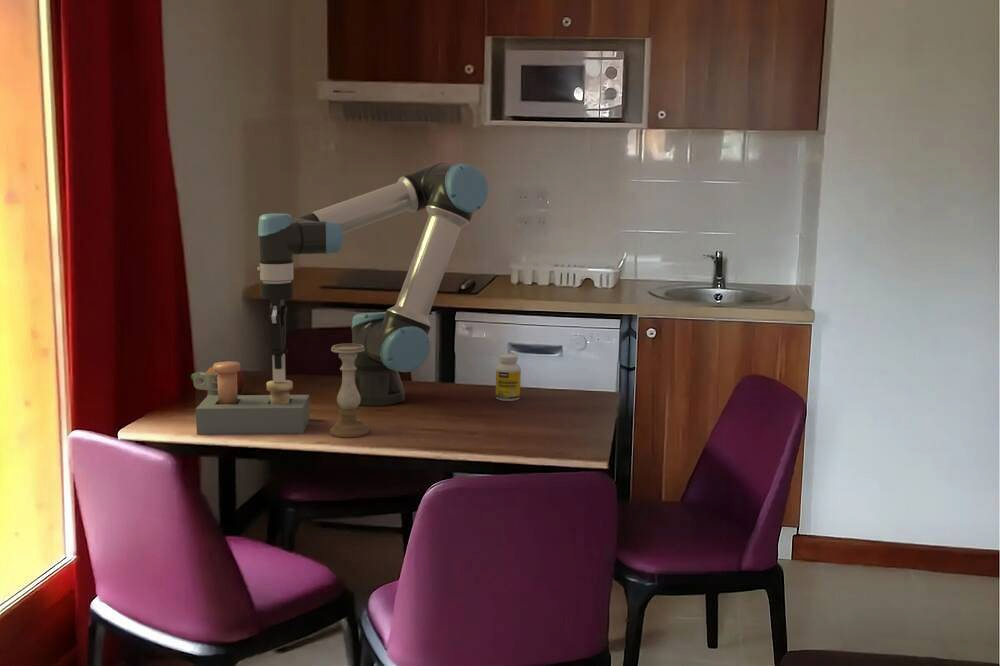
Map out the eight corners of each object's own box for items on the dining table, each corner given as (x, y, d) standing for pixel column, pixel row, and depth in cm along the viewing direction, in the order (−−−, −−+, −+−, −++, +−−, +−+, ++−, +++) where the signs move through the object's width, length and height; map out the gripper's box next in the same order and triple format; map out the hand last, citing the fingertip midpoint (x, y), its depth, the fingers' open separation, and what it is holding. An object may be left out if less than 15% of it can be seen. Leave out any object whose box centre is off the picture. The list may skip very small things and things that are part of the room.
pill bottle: (491, 400, 268) (492, 356, 266) (501, 395, 274) (501, 352, 272) (514, 402, 265) (515, 358, 263) (523, 397, 271) (524, 354, 269)
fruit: (250, 399, 266) (249, 362, 264) (213, 404, 260) (211, 366, 258) (236, 391, 274) (235, 355, 273) (199, 396, 269) (198, 359, 267)
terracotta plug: (243, 400, 241) (242, 361, 240) (238, 406, 236) (237, 366, 234) (217, 400, 241) (216, 361, 239) (212, 407, 235) (210, 366, 233)
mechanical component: (229, 416, 249) (228, 376, 247) (191, 413, 251) (189, 373, 249) (235, 413, 252) (233, 373, 250) (197, 410, 254) (195, 371, 252)
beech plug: (295, 418, 243) (294, 379, 241) (291, 425, 237) (290, 385, 236) (269, 418, 243) (268, 379, 241) (265, 425, 237) (264, 385, 235)
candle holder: (371, 436, 232) (370, 349, 229) (332, 439, 230) (331, 350, 226) (365, 426, 240) (364, 342, 237) (327, 429, 238) (326, 343, 234)
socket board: (309, 418, 247) (309, 394, 246) (303, 433, 234) (302, 407, 233) (208, 419, 245) (207, 395, 244) (196, 434, 232) (195, 408, 231)
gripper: (264, 278, 240) (267, 375, 244) (255, 284, 228) (258, 388, 232) (296, 278, 241) (298, 375, 245) (289, 284, 228) (291, 387, 232)
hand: (279, 381), depth 238 cm, fingers closed
